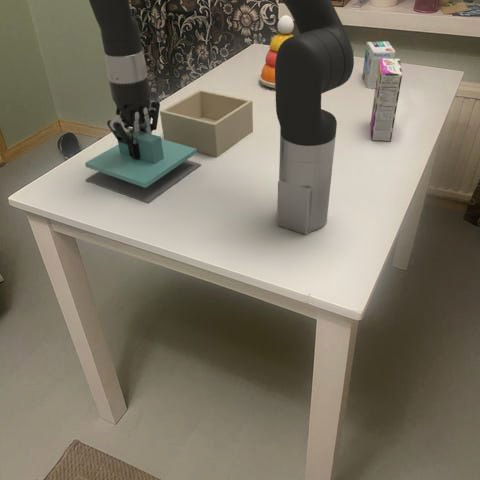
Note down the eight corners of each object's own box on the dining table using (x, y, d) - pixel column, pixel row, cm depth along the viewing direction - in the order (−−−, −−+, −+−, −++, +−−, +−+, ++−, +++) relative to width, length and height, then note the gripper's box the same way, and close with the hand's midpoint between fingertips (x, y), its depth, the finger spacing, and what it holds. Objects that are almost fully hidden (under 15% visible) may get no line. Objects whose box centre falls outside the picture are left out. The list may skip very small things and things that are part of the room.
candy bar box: (369, 122, 122) (378, 57, 112) (389, 123, 121) (400, 58, 111) (369, 141, 113) (380, 73, 103) (391, 142, 113) (403, 73, 102)
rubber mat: (148, 203, 95) (148, 202, 94) (85, 180, 103) (85, 179, 102) (201, 165, 106) (200, 164, 106) (141, 147, 114) (141, 146, 114)
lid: (146, 192, 94) (140, 161, 90) (87, 171, 101) (79, 141, 97) (197, 156, 105) (194, 127, 101) (140, 140, 113) (135, 112, 108)
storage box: (217, 157, 109) (215, 125, 104) (164, 142, 116) (159, 111, 111) (252, 131, 120) (252, 100, 115) (202, 118, 127) (199, 89, 122)
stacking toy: (270, 94, 139) (271, 24, 127) (252, 79, 150) (251, 13, 138) (313, 87, 143) (318, 18, 131) (292, 73, 154) (294, 8, 142)
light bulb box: (361, 76, 149) (366, 41, 142) (382, 76, 149) (388, 40, 142) (367, 89, 141) (372, 51, 134) (390, 88, 140) (396, 51, 134)
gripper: (116, 90, 85) (132, 173, 96) (165, 67, 94) (175, 145, 105) (87, 83, 88) (105, 164, 99) (138, 62, 97) (150, 138, 108)
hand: (141, 154), depth 102 cm, fingers closed on lid, 3 cm apart
